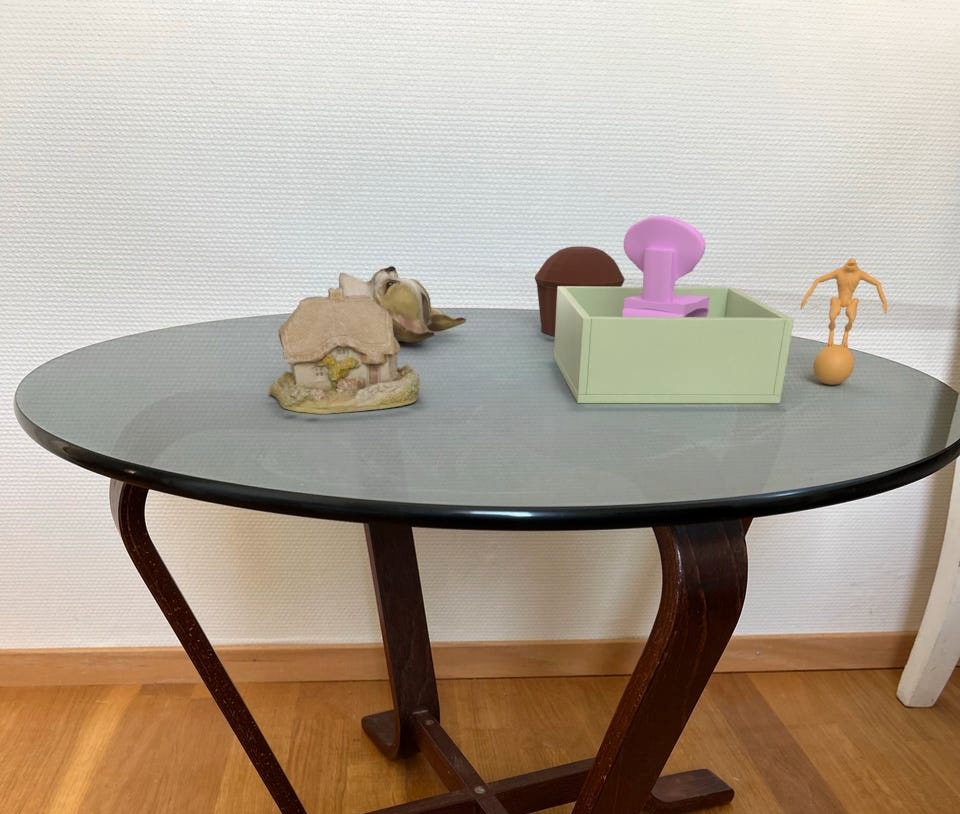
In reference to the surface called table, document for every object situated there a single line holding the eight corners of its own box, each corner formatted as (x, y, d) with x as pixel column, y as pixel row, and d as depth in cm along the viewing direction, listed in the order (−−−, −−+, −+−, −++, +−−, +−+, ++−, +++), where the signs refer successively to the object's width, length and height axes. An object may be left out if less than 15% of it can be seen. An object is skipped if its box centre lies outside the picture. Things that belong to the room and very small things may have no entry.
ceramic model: (269, 416, 84) (257, 298, 79) (268, 386, 93) (258, 279, 88) (425, 410, 86) (423, 295, 81) (409, 381, 96) (407, 277, 91)
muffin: (597, 344, 114) (603, 256, 109) (516, 334, 119) (519, 249, 114) (633, 329, 123) (641, 246, 118) (557, 320, 128) (561, 241, 123)
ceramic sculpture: (361, 253, 117) (471, 269, 112) (361, 325, 121) (467, 343, 117) (316, 264, 108) (433, 281, 104) (317, 340, 113) (430, 360, 108)
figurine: (788, 385, 97) (809, 260, 91) (788, 372, 102) (808, 254, 96) (873, 392, 95) (900, 264, 89) (869, 378, 100) (895, 257, 94)
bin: (724, 359, 107) (733, 287, 104) (780, 403, 90) (794, 319, 86) (553, 358, 106) (557, 286, 103) (577, 403, 89) (582, 317, 85)
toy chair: (711, 371, 98) (732, 214, 91) (678, 387, 92) (697, 220, 85) (639, 361, 102) (653, 209, 95) (602, 376, 96) (614, 215, 89)
